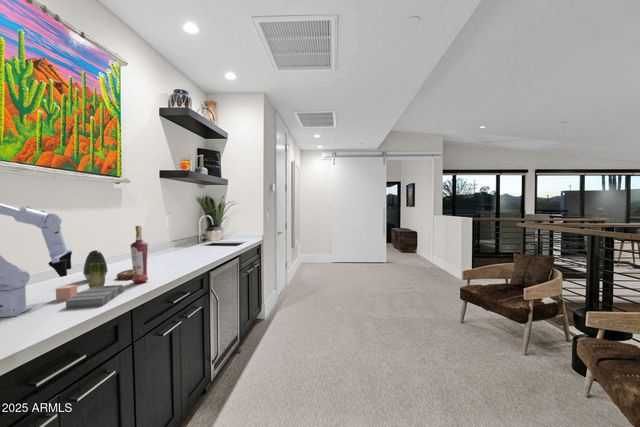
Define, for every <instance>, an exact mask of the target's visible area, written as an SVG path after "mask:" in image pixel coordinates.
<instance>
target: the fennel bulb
mask: <svg viewBox="0 0 640 427" xmlns="http://www.w3.org/2000/svg"><path fill="white" fill-rule="evenodd" d="M96 266H97V272H96ZM89 271H90V273H89V280H88V287H89V288H91V287H97V286H105V284H106V276H105V271H104V263H101V271H100V263H96V265H95V263H93V266H92V264H89Z"/></svg>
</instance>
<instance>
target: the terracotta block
mask: <svg viewBox="0 0 640 427" xmlns="http://www.w3.org/2000/svg"><path fill="white" fill-rule="evenodd" d="M76 295H78V285H77V284H70V285H61V286H59V287H56V288H55V301H56V302H60V301H66V300H68V299H70V298H72V297H74V296H76Z"/></svg>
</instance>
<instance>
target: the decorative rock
mask: <svg viewBox="0 0 640 427" xmlns="http://www.w3.org/2000/svg"><path fill="white" fill-rule="evenodd" d="M116 279H117V280H118V281H119V280H121V281H125V280H126V281H128V280H129V279H130V280H133V268H132V269H127V270H123V271H120V272H118V273H117V274H116Z"/></svg>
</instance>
